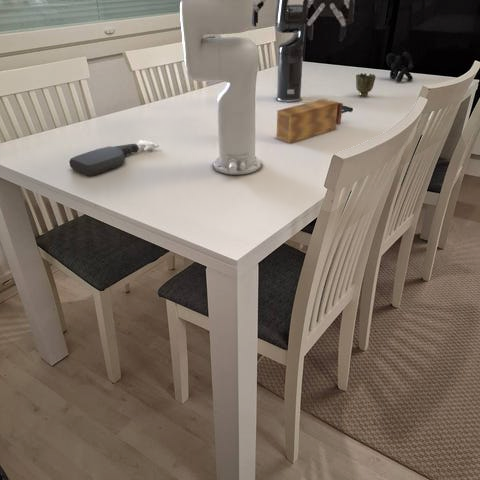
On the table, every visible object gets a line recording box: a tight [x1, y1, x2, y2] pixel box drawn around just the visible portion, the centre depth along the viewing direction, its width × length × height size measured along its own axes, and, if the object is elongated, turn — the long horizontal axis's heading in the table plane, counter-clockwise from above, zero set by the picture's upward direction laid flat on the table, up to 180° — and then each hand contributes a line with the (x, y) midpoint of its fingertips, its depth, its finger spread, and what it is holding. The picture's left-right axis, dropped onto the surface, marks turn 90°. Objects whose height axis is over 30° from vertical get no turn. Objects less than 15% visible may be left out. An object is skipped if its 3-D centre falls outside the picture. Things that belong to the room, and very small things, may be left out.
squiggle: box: [385, 51, 414, 83], centre depth 198 cm, size 11×10×15 cm
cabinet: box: [276, 98, 339, 144], centre depth 139 cm, size 20×6×9 cm, turn 128°
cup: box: [355, 73, 377, 97], centre depth 176 cm, size 8×7×8 cm
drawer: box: [333, 100, 354, 126], centre depth 142 cm, size 25×5×7 cm, turn 128°
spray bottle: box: [68, 139, 160, 177], centre depth 124 cm, size 3×11×24 cm
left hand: (239, 26), depth 140 cm, fingers open, 9 cm apart
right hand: (325, 40), depth 128 cm, fingers open, 8 cm apart
